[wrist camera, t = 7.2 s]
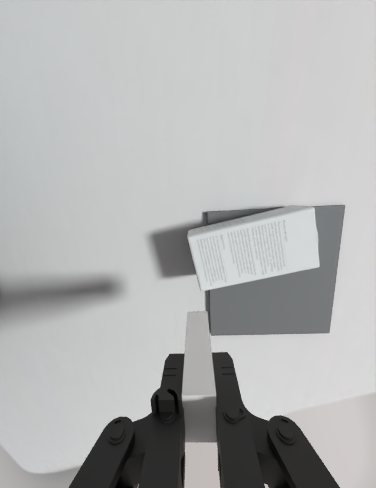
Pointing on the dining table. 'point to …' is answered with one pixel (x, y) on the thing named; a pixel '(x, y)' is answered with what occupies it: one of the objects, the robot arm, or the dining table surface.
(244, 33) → the dining table surface
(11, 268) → the dining table surface
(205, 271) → the skincare box
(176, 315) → the dining table surface
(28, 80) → the dining table surface
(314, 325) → the mat
